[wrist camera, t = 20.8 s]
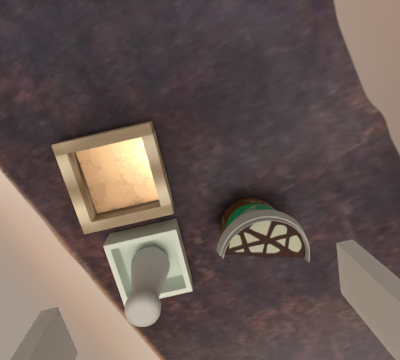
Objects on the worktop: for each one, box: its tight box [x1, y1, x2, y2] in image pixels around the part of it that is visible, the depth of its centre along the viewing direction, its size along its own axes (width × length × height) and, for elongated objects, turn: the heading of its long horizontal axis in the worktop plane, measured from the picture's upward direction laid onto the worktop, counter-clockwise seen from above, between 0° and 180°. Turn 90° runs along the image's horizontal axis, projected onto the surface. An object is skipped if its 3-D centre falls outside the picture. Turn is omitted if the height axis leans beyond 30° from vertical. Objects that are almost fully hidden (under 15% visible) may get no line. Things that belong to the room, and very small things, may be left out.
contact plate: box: [76, 137, 159, 213], centre depth 42 cm, size 9×9×1 cm
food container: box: [217, 197, 310, 262], centre depth 41 cm, size 12×6×10 cm, turn 85°
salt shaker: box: [125, 245, 170, 327], centre depth 40 cm, size 6×6×13 cm
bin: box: [103, 218, 193, 306], centre depth 45 cm, size 11×11×4 cm
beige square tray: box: [51, 121, 174, 234], centre depth 41 cm, size 13×13×4 cm
